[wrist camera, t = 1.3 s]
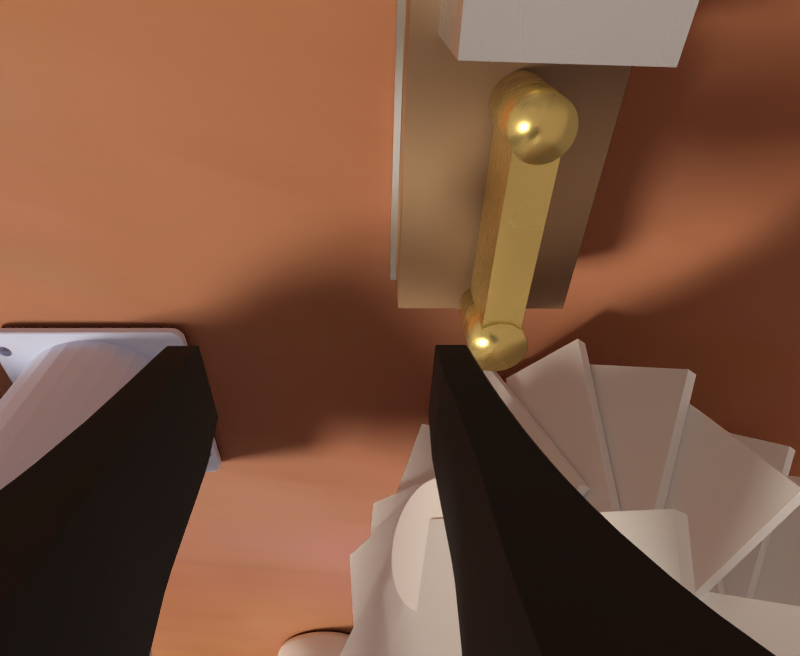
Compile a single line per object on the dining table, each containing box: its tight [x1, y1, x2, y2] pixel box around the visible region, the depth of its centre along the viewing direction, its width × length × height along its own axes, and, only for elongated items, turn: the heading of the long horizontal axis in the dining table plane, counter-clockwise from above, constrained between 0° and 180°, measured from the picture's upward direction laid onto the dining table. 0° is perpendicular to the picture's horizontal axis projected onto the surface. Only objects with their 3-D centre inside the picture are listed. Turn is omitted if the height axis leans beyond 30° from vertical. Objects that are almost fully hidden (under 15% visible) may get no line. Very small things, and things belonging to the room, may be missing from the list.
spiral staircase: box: [340, 339, 800, 656], centre depth 21 cm, size 18×18×25 cm
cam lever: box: [459, 71, 578, 371], centre depth 15 cm, size 8×2×2 cm, turn 178°
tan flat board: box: [390, 0, 632, 308], centre depth 15 cm, size 16×6×3 cm, turn 178°
